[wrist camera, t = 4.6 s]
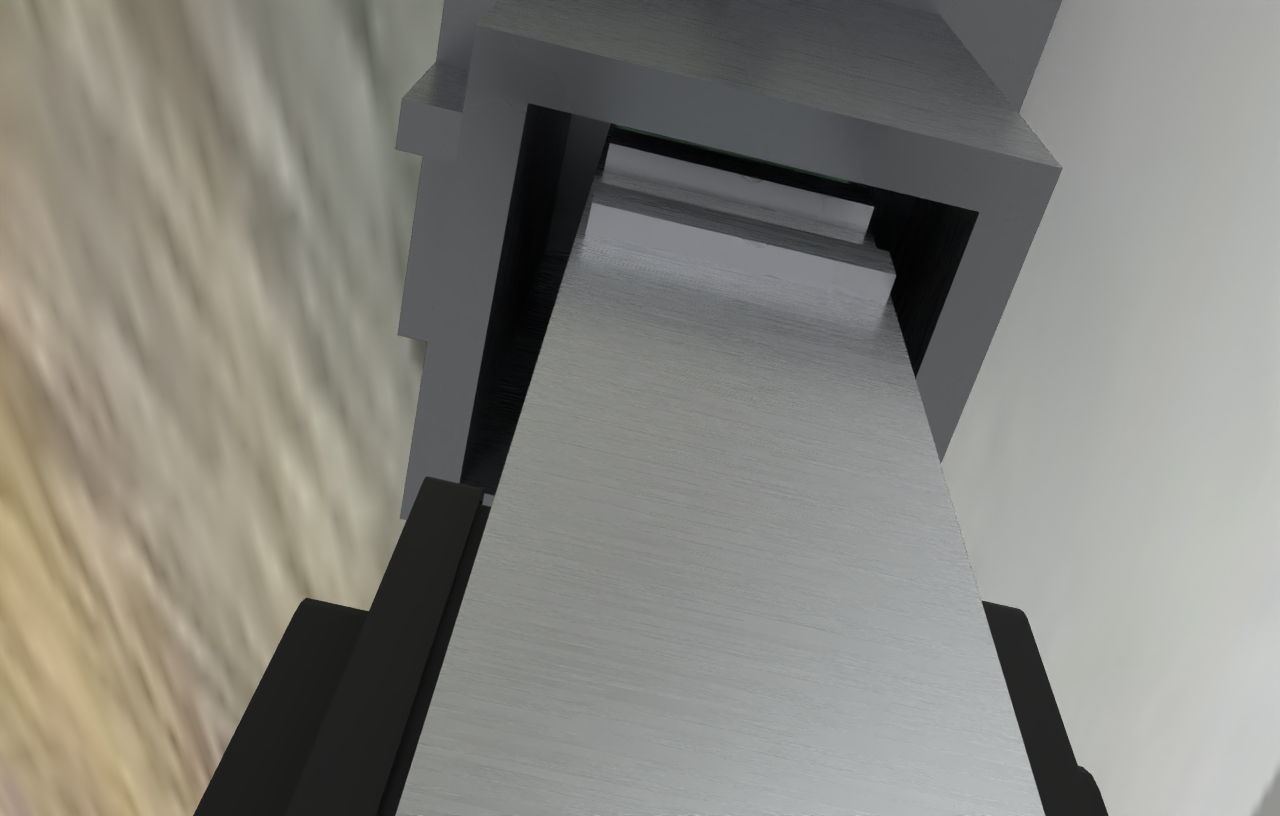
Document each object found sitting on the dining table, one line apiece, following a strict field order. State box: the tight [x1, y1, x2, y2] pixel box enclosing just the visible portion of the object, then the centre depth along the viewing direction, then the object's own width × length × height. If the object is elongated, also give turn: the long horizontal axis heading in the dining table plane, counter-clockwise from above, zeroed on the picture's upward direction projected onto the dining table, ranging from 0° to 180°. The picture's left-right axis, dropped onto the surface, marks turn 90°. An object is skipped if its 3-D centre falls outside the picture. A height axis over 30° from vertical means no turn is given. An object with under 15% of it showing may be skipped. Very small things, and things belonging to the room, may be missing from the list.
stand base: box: [396, 0, 1062, 520], centre depth 22 cm, size 12×12×11 cm
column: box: [395, 123, 1045, 816], centre depth 16 cm, size 5×4×21 cm
